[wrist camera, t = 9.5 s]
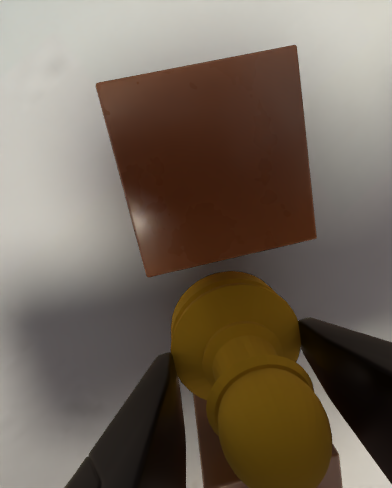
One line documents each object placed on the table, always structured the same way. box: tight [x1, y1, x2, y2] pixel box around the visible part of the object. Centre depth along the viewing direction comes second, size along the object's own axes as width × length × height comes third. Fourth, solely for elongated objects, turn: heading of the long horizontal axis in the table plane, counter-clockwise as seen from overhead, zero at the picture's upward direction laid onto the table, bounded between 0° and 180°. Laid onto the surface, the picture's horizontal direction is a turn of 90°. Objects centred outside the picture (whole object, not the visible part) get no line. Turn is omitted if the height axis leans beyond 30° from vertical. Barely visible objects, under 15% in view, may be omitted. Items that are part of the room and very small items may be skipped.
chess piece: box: [171, 271, 332, 488], centre depth 7 cm, size 4×4×5 cm
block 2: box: [193, 393, 342, 488], centre depth 10 cm, size 4×4×4 cm
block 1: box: [96, 45, 317, 277], centre depth 7 cm, size 4×4×4 cm
